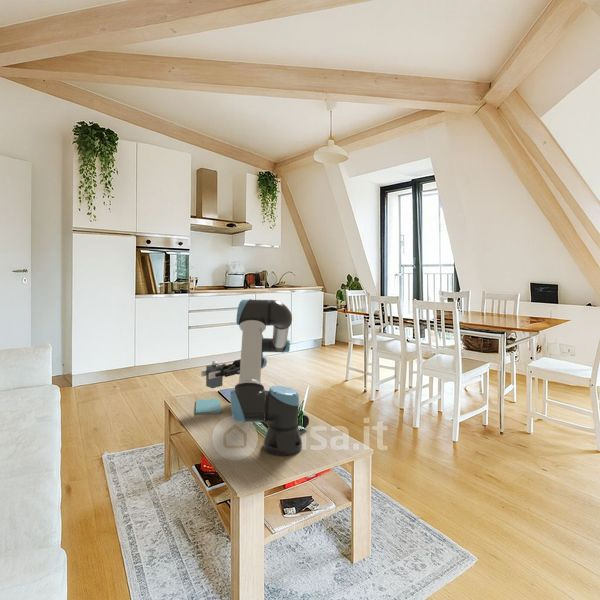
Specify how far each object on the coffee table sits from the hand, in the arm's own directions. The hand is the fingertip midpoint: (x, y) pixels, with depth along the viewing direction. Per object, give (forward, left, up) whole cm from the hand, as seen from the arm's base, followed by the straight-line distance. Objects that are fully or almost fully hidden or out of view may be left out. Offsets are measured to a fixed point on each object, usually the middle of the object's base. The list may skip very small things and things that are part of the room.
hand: (205, 374), depth 177 cm
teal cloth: (+9, -2, -19) cm, 21 cm away
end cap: (-22, -40, -19) cm, 49 cm away
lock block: (+3, -4, -6) cm, 8 cm away
